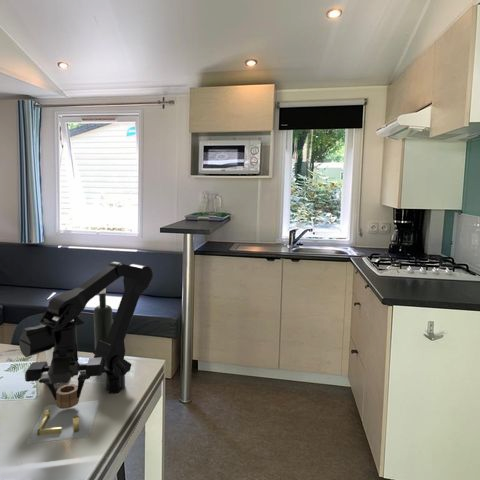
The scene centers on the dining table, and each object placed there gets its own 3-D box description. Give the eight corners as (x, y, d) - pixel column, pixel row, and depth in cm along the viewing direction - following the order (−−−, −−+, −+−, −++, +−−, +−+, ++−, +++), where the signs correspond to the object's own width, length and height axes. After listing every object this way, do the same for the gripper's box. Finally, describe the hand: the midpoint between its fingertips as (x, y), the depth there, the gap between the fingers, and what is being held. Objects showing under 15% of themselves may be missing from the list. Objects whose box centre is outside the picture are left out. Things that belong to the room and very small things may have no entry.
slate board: (46, 408, 103) (46, 405, 103) (99, 403, 106) (99, 400, 106) (26, 446, 88) (25, 443, 88) (89, 439, 90) (89, 436, 90)
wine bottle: (95, 367, 127) (92, 281, 124) (112, 364, 130) (110, 280, 126) (96, 374, 122) (93, 285, 118) (114, 371, 125) (112, 284, 121)
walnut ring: (60, 398, 103) (59, 385, 103) (80, 396, 104) (79, 383, 104) (55, 409, 98) (54, 395, 98) (76, 407, 99) (75, 393, 99)
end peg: (74, 429, 93) (73, 416, 93) (80, 428, 93) (79, 415, 93) (72, 432, 92) (72, 419, 91) (78, 431, 92) (78, 418, 92)
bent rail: (45, 416, 98) (45, 409, 98) (68, 414, 99) (68, 407, 99) (36, 435, 90) (35, 428, 90) (60, 432, 92) (60, 425, 91)
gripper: (15, 359, 89) (18, 420, 91) (97, 353, 93) (99, 412, 95) (30, 341, 100) (34, 396, 102) (104, 337, 104) (105, 389, 106)
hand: (67, 398), depth 101 cm, fingers closed on walnut ring, 5 cm apart
